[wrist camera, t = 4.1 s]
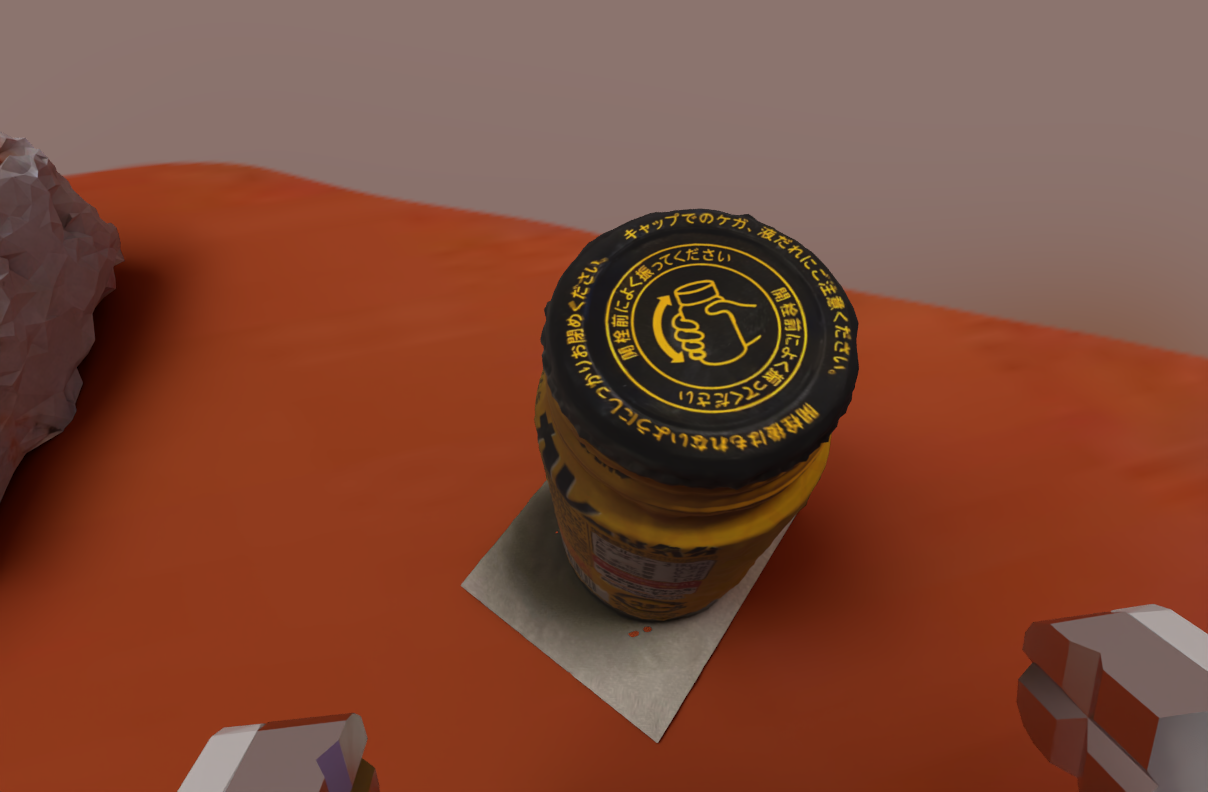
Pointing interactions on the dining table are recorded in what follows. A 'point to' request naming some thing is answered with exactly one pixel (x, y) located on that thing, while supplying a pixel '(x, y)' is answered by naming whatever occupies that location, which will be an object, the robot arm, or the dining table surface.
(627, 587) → the condiment
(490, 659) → the dining table surface
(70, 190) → the food item
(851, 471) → the dining table surface
